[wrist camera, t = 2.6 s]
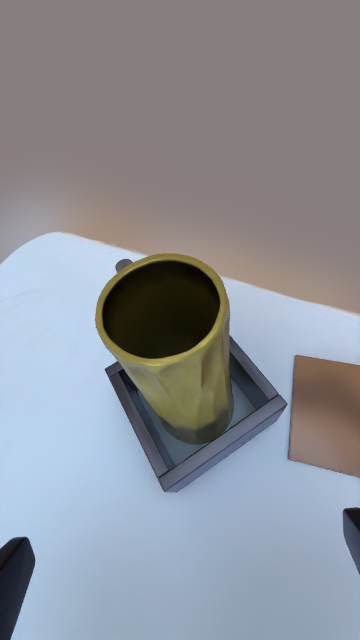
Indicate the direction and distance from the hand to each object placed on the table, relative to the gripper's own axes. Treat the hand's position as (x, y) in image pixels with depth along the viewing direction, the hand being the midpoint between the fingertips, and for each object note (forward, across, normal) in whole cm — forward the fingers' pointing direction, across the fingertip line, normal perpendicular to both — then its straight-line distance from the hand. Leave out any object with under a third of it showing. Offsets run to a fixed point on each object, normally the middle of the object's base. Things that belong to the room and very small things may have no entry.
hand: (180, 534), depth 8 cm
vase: (+14, 0, +4) cm, 15 cm away
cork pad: (+13, -11, +6) cm, 18 cm away
